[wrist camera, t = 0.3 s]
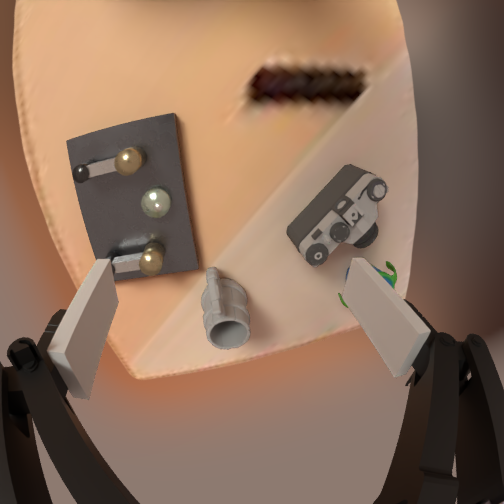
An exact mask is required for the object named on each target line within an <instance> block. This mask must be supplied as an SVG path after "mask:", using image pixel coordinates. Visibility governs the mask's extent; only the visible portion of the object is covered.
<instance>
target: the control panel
mask: <svg viewBox="0 0 504 504" xmlns="http://www.w3.org/2000/svg"><path fill="white" fill-rule="evenodd" d="M66 142H67V148H68V154H69V160H70V165H71V170H72V173H73V169H74V168H75V167H76V166H78V165H80V164H82V163H84V162H87V161H93V162H99V161H102V160H106V159H110V158H114V157H116V156H117V154H118V153H119V152H121V151H123V150H125V149H128V148H130V147H133V146H137V147H140V148H141V149H143V151H144V152H145V155H146V161H145V163H144V165H143V166H142V167H141V168H140V169H138V170H137V171H136V172H135V173H133V174H132V175H128V176H124V175H121V174H120V173H118V172H117V171H114V172H110V173H106V174H102V175H98V176H94V177H92V178H90V179H88V180H87V181H85V182H83V183H77V182H76V181H75V180H74V184H75V188H76V193H77V197H78V201H79V205H80V209H81V212H82V216H83V220H84V223H85V227H86V230H87V233H88V237H89V240H90V243H91V246H92V249H93V252H94V255H95V258H96V260H97V259H105V257H106V256H107V254H108V253H110V252H115V253H117V254H118V255H119V256H125V255H131V254H137V253H143V251H144V249H145V247H146V245H148V244H149V243H153V242H155V243H159V244H160V245H162V246H163V248H164V250H165V256H164V260H163V264H162V268H161V271H160V272H159V273H158V274H157V275H161V274H168V273H175V272H182V271H189V270H196V269H199V261H198V256H197V251H196V245H195V240H194V235H193V229H192V224H191V218H190V212H189V206H188V200H187V194H186V188H185V181H184V175H183V168H182V161H181V154H180V146H179V139H178V131H177V123H176V114H175V113H171V114H165V115H160V116H155V117H150V118H146V119H141V120H137V121H132V122H128V123H124V124H120V125H116V126H113V127H109V128H105V129H102V130H98V131H95V132H92V133H88V134H85V135H82V136H79V137H76V138H73V139H70V140H67V141H66ZM147 276H148V275H146V274H144V273H143V272H142V271H141V270H135V271H128V272H121V273H115V274H114V276H113V277H114V281H118V280H126V279H133V278H140V277H147Z"/></svg>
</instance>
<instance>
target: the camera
mask: <svg viewBox="0 0 504 504" xmlns="http://www.w3.org/2000/svg"><path fill="white" fill-rule="evenodd" d="M387 192H388V186H387V185H386V183H385V182H384V181H383V180H382V178H380V177H378V176H376V175H375V174H373V173H371V172H368V171H365V170H363V169H360V168H358V167H355V166H353V165H351V164H350V165H345V166H344V167H343V168H342V169H341V170H340V171H339V172H338V173H337V175H336V176H335V177H334V178H333V179H332V180H331V181H330V182H329V183H328V184H327V185H326V186H325V187H324V189H323V190H322V191H321V192H320V193H319V194H318V195H317V196H316V197H315V198H314V199H313V200H312V201H311V202H310V204H309V205H308V206H307V207H306V208H305V209H304V210H303V211H302V212H301V213H300V214H299V215H298V216H297V217H296V218H295V220H294V221H293V222H292V223H291V224H290V225H289V226H288V228H287V235H288V236H289V238H290V239H291V241H292V242H293V243H294V245H295V246H296V248H297V249H298V251H299V252H300V253H301V254H302V256H303V257H304V259H305V260H306V261H307V262H308V263H309V264H310V265H312V266H313V267H318V266H319V265H320V264H322V263H324V262H325V261H326V260H327V257H328V255H329V254H330V253H331V252H332V251H333V250H334V249H335V248H336V247H337V246H338V245H339V244H340V243H341V242H342V243H348V244H352V245H353V246H355V247H357V248H365V247H367V246H369V245H370V244H371V243H373V241H374V240H375V239H376V237H377V235H378V227H377V225H376V223H375V221H376V219H377V218H378V211H377V203H378V202H379V201H380V200H382V199H383V198H384V197H385V195H386V193H387Z"/></svg>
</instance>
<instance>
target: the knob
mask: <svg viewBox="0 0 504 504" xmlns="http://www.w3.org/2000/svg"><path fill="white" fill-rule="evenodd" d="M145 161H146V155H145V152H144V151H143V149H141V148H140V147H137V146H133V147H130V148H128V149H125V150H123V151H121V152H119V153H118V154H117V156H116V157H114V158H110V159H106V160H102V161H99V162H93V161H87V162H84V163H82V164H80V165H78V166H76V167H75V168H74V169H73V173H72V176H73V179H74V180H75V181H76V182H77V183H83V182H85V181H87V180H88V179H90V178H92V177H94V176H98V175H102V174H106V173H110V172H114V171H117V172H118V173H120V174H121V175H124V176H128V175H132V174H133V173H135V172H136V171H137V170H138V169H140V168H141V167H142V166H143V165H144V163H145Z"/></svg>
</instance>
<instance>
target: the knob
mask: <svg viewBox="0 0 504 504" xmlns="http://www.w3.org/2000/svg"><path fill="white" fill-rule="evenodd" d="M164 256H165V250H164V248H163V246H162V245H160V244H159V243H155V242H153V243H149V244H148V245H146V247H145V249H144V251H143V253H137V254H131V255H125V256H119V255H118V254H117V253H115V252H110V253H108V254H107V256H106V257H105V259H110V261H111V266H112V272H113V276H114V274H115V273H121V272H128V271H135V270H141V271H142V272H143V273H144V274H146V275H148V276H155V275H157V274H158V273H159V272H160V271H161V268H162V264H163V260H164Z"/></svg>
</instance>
